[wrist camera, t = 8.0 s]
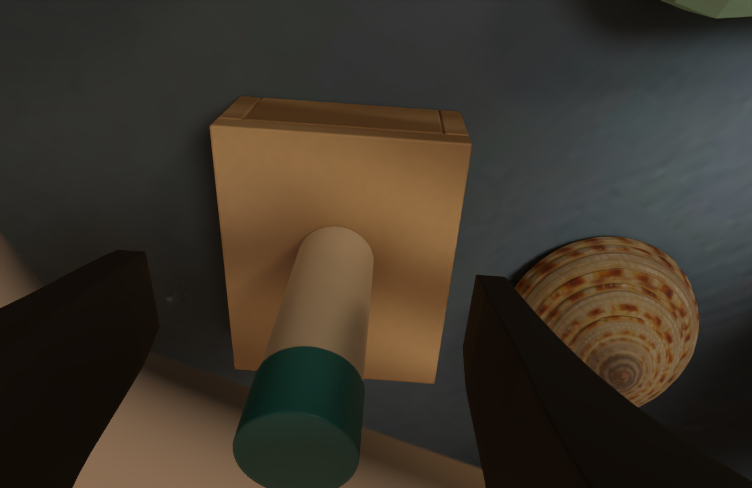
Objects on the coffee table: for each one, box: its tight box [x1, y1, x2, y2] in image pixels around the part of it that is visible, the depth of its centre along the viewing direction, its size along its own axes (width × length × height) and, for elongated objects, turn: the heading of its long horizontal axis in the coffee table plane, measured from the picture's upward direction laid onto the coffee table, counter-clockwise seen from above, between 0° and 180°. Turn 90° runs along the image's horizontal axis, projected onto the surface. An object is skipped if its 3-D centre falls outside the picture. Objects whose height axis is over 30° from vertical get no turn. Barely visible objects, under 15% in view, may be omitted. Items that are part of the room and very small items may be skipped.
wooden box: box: [210, 96, 472, 384], centre depth 20 cm, size 10×8×4 cm
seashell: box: [515, 236, 699, 407], centre depth 22 cm, size 8×6×8 cm
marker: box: [233, 226, 374, 488], centre depth 15 cm, size 3×3×8 cm
